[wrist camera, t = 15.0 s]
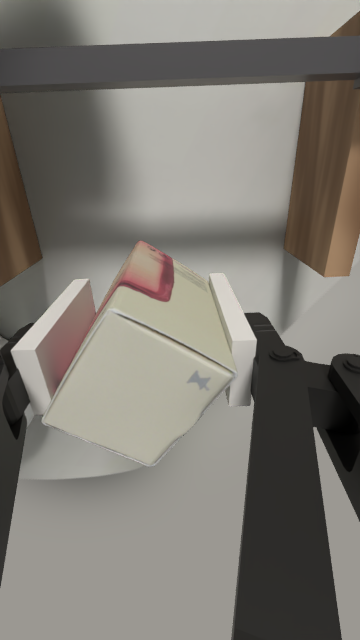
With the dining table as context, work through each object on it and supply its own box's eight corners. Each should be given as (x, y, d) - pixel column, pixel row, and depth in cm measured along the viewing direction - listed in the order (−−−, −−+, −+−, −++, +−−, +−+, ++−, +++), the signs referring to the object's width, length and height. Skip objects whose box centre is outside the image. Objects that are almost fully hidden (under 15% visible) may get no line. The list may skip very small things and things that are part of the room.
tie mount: (23, 259, 31) (-31, 291, 23) (-32, 66, 24) (-143, 10, 15) (302, 247, 31) (348, 276, 23) (333, 52, 24) (420, -11, 15)
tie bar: (-98, 106, 17) (-137, 97, 15) (-120, 53, 16) (-165, 35, 14) (392, 88, 17) (424, 76, 15) (406, 33, 16) (441, 12, 14)
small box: (139, 236, 14) (107, 300, 7) (210, 281, 15) (244, 375, 8) (94, 314, 16) (33, 427, 9) (160, 349, 17) (152, 473, 10)
